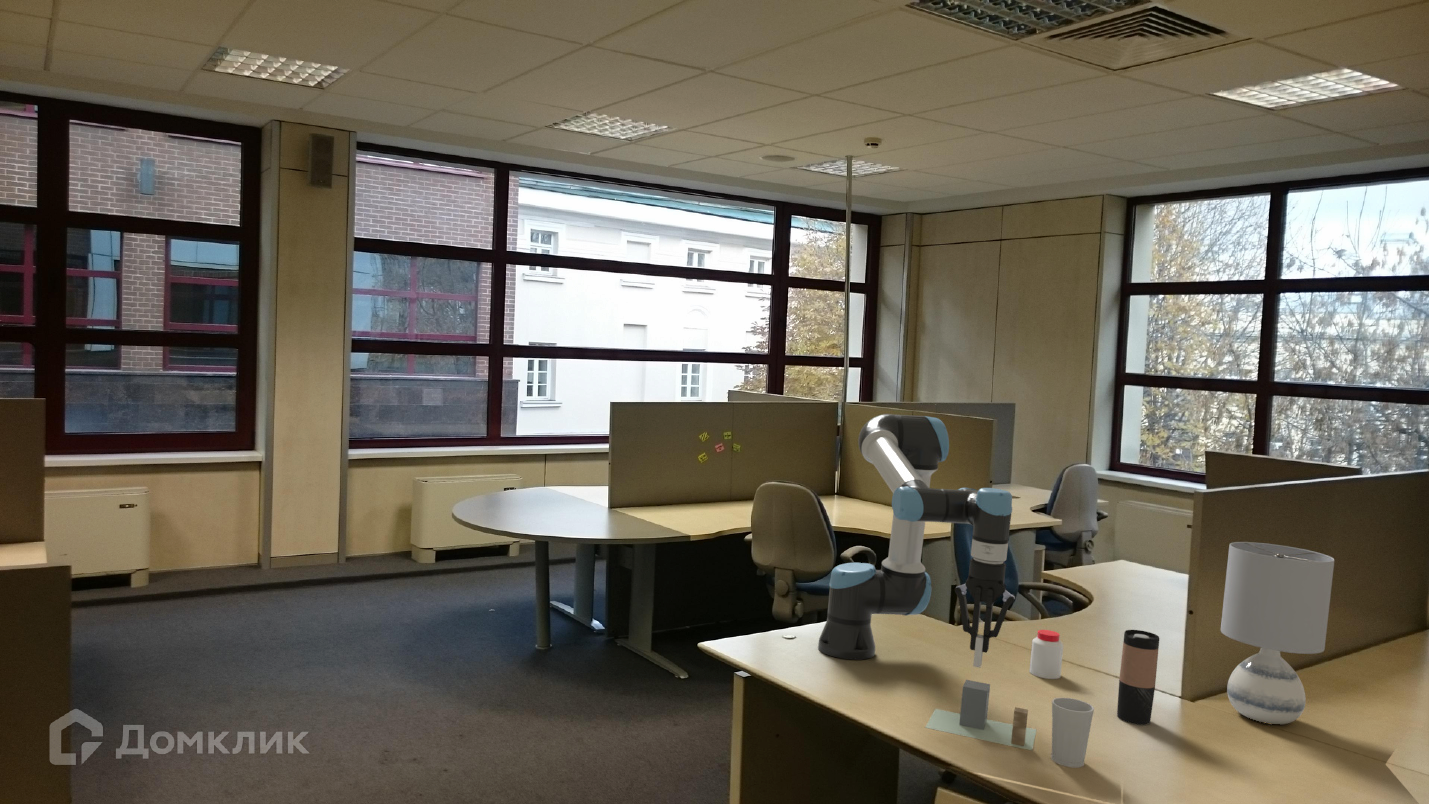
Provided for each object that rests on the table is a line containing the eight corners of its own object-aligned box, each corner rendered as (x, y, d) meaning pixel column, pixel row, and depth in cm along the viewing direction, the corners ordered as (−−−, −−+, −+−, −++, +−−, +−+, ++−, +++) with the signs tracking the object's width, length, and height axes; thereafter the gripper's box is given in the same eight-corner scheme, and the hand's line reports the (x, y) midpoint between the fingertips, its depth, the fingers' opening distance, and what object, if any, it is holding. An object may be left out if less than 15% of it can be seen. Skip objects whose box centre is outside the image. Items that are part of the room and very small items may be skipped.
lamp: (1325, 721, 235) (1343, 555, 233) (1303, 743, 219) (1322, 565, 217) (1227, 695, 250) (1243, 538, 247) (1200, 713, 234) (1217, 547, 232)
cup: (1040, 753, 202) (1045, 696, 201) (1077, 755, 203) (1082, 698, 202) (1056, 770, 194) (1062, 711, 193) (1095, 771, 195) (1101, 712, 194)
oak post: (1011, 743, 205) (1014, 711, 205) (1012, 739, 207) (1015, 707, 207) (1023, 746, 204) (1027, 713, 204) (1025, 742, 206) (1028, 709, 206)
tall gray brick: (959, 724, 213) (962, 686, 213) (962, 717, 218) (966, 679, 218) (983, 730, 211) (987, 691, 211) (986, 722, 216) (990, 684, 216)
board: (925, 729, 210) (925, 727, 210) (935, 710, 223) (935, 708, 222) (1031, 752, 202) (1032, 750, 202) (1036, 731, 214) (1036, 729, 214)
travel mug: (1149, 716, 229) (1158, 632, 228) (1152, 728, 222) (1161, 641, 221) (1114, 710, 232) (1122, 627, 230) (1116, 721, 224) (1125, 635, 223)
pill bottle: (1056, 670, 259) (1060, 630, 259) (1063, 680, 252) (1067, 638, 251) (1026, 667, 260) (1030, 627, 259) (1033, 677, 252) (1036, 635, 252)
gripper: (955, 558, 212) (944, 664, 214) (1017, 568, 207) (1006, 676, 209) (960, 552, 219) (950, 654, 221) (1020, 561, 214) (1009, 666, 216)
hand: (977, 665), depth 215 cm, fingers closed
